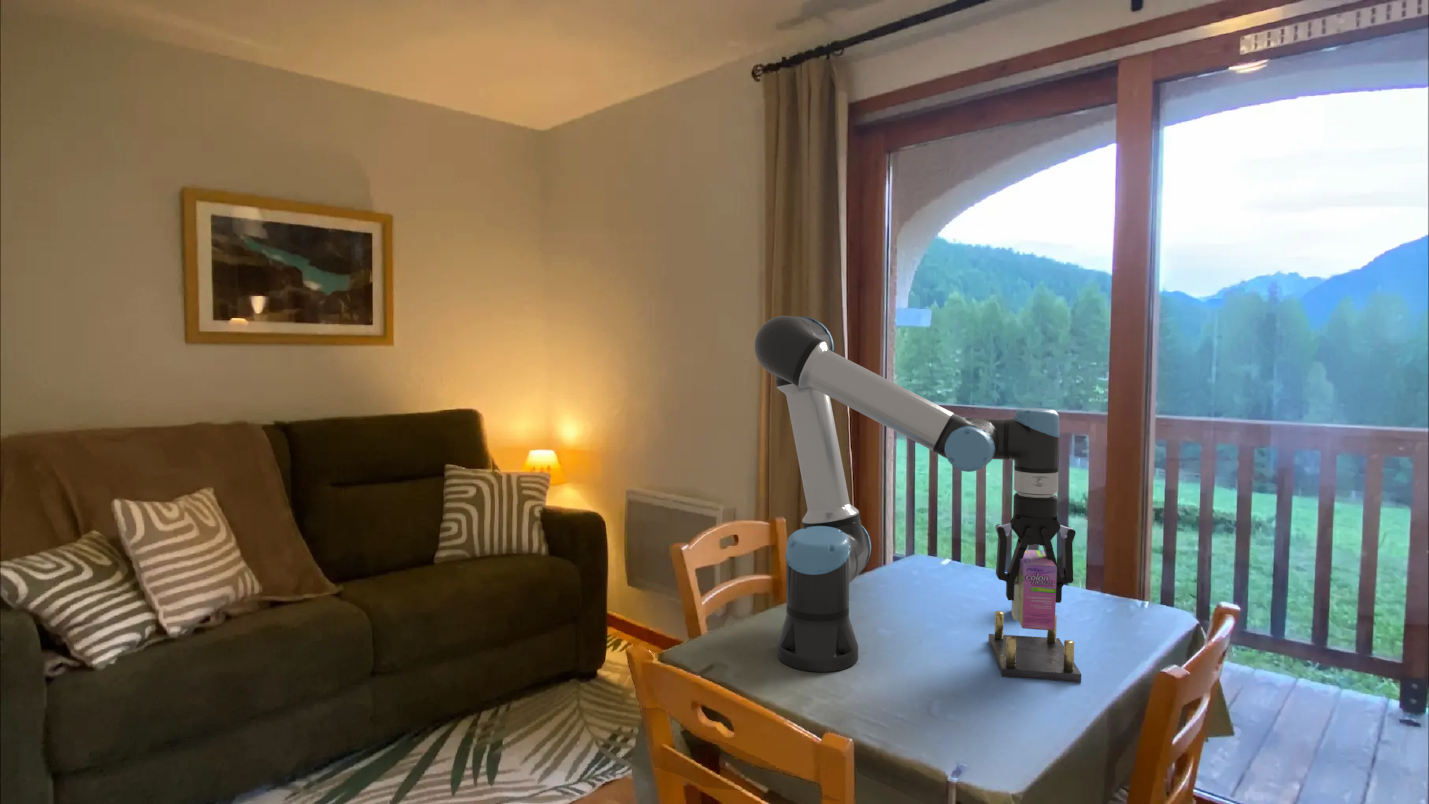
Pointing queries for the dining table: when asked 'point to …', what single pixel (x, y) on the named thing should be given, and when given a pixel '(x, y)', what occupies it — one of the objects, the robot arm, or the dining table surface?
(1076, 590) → the dining table surface
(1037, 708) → the dining table surface
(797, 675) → the dining table surface
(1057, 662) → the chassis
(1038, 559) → the box
